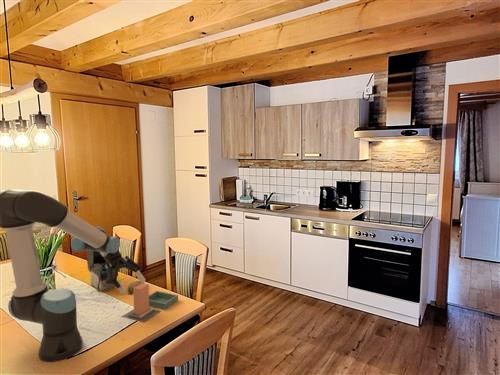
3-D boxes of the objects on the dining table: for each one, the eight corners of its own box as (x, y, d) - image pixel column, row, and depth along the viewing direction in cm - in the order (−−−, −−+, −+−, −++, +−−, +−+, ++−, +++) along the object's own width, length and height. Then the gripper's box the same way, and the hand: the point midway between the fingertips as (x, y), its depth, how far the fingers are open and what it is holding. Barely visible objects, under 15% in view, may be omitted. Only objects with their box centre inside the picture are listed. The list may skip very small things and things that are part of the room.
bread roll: (126, 297, 182) (121, 287, 179) (139, 284, 190) (134, 275, 186) (139, 301, 178) (134, 291, 174) (151, 288, 185) (146, 278, 182)
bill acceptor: (101, 295, 177) (99, 251, 175) (87, 283, 194) (85, 242, 191) (120, 289, 185) (118, 247, 182) (105, 278, 201) (104, 239, 198)
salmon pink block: (140, 317, 151) (139, 289, 150) (134, 315, 153) (133, 287, 151) (149, 311, 157) (148, 284, 155) (142, 310, 158) (142, 283, 157)
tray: (164, 311, 159) (164, 304, 159) (142, 306, 165) (142, 298, 164) (178, 302, 169) (178, 295, 169) (156, 297, 175) (156, 290, 174)
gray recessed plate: (144, 324, 147) (144, 319, 146) (121, 318, 152) (121, 313, 152) (161, 313, 158) (161, 308, 157) (139, 307, 163) (139, 302, 163)
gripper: (125, 250, 174) (147, 281, 170) (86, 265, 151) (110, 301, 147) (132, 242, 172) (155, 274, 168) (93, 256, 149) (119, 293, 145)
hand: (134, 287), depth 158 cm, fingers open, 13 cm apart
